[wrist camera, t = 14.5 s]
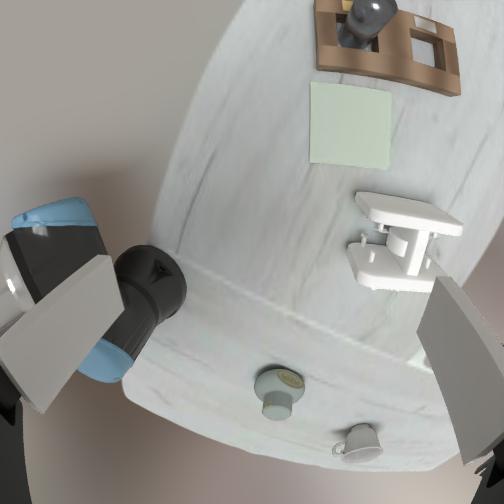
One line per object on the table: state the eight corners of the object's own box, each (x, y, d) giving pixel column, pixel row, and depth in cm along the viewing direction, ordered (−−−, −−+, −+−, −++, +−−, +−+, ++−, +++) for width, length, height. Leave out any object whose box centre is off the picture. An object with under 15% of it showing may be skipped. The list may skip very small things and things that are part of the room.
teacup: (338, 418, 61) (339, 448, 52) (386, 417, 59) (390, 445, 50) (326, 437, 66) (326, 464, 57) (370, 436, 65) (373, 462, 56)
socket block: (316, 70, 31) (319, 64, 28) (313, 4, 26) (315, -6, 23) (449, 96, 28) (461, 95, 25) (443, 33, 23) (453, 28, 20)
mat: (309, 162, 37) (309, 162, 37) (310, 82, 32) (310, 81, 32) (387, 169, 36) (388, 170, 35) (390, 92, 31) (391, 92, 30)
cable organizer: (436, 203, 36) (474, 227, 26) (421, 261, 41) (450, 298, 30) (353, 187, 38) (373, 208, 27) (342, 252, 42) (355, 291, 32)
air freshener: (311, 377, 55) (311, 414, 46) (289, 394, 58) (286, 429, 49) (270, 358, 54) (264, 395, 45) (250, 377, 57) (242, 412, 48)
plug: (339, 50, 29) (359, 13, 17) (337, 26, 28) (354, -17, 15) (368, 54, 29) (400, 22, 16) (366, 30, 27) (394, -8, 14)
